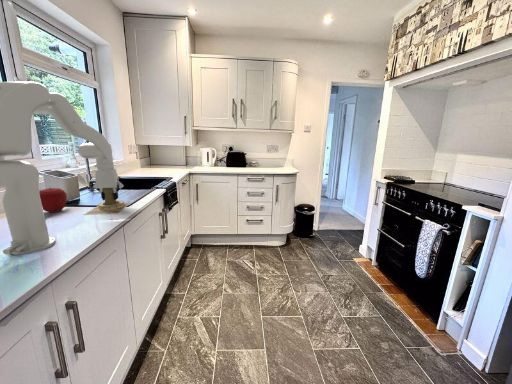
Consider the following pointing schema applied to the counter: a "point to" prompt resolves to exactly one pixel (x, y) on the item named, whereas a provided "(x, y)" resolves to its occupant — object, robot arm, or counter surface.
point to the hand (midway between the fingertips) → (110, 199)
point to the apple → (53, 199)
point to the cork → (109, 196)
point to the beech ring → (110, 207)
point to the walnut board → (113, 211)
